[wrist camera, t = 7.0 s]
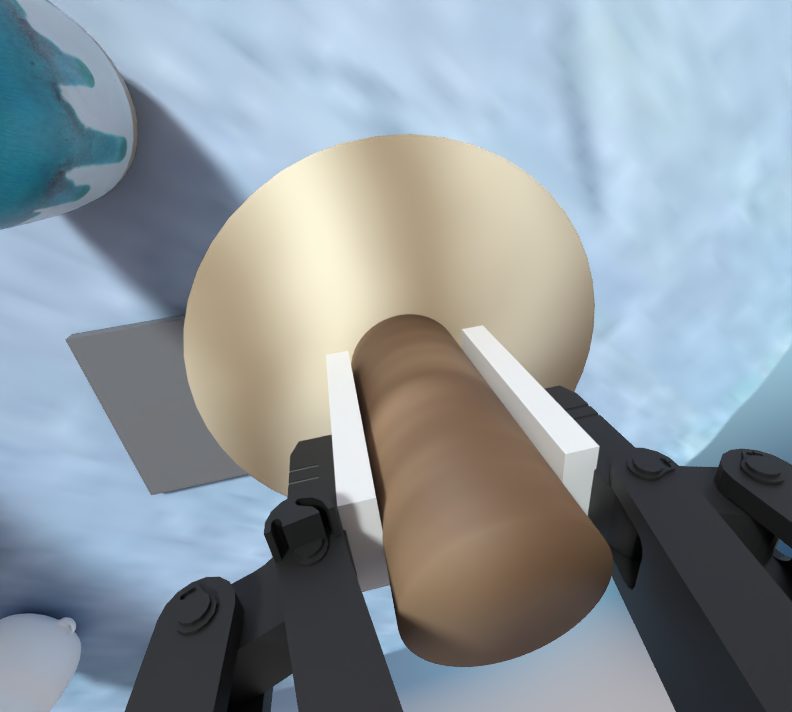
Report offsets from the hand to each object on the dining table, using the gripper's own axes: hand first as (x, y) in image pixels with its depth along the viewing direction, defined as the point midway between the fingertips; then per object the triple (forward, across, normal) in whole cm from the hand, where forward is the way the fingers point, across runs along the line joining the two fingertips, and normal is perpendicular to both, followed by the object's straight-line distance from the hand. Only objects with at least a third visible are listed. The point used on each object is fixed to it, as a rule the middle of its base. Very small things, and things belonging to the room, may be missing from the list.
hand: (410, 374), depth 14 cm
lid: (+2, 0, 0) cm, 2 cm away
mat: (+20, -14, -11) cm, 27 cm away
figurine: (+21, -39, -34) cm, 56 cm away
